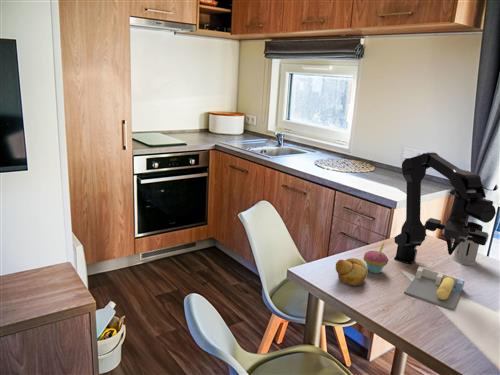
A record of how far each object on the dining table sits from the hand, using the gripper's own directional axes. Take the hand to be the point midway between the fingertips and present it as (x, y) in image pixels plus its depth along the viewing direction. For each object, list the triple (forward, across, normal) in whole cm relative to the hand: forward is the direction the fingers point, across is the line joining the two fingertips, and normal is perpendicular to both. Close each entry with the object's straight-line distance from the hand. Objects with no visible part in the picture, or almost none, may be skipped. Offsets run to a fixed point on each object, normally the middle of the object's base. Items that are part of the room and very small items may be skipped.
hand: (450, 254), depth 143 cm
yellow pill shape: (+11, +2, -7) cm, 13 cm away
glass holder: (+12, +1, +26) cm, 29 cm away
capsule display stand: (+12, -1, -7) cm, 14 cm away
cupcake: (+12, -22, -6) cm, 26 cm away
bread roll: (+12, -25, -19) cm, 34 cm away
